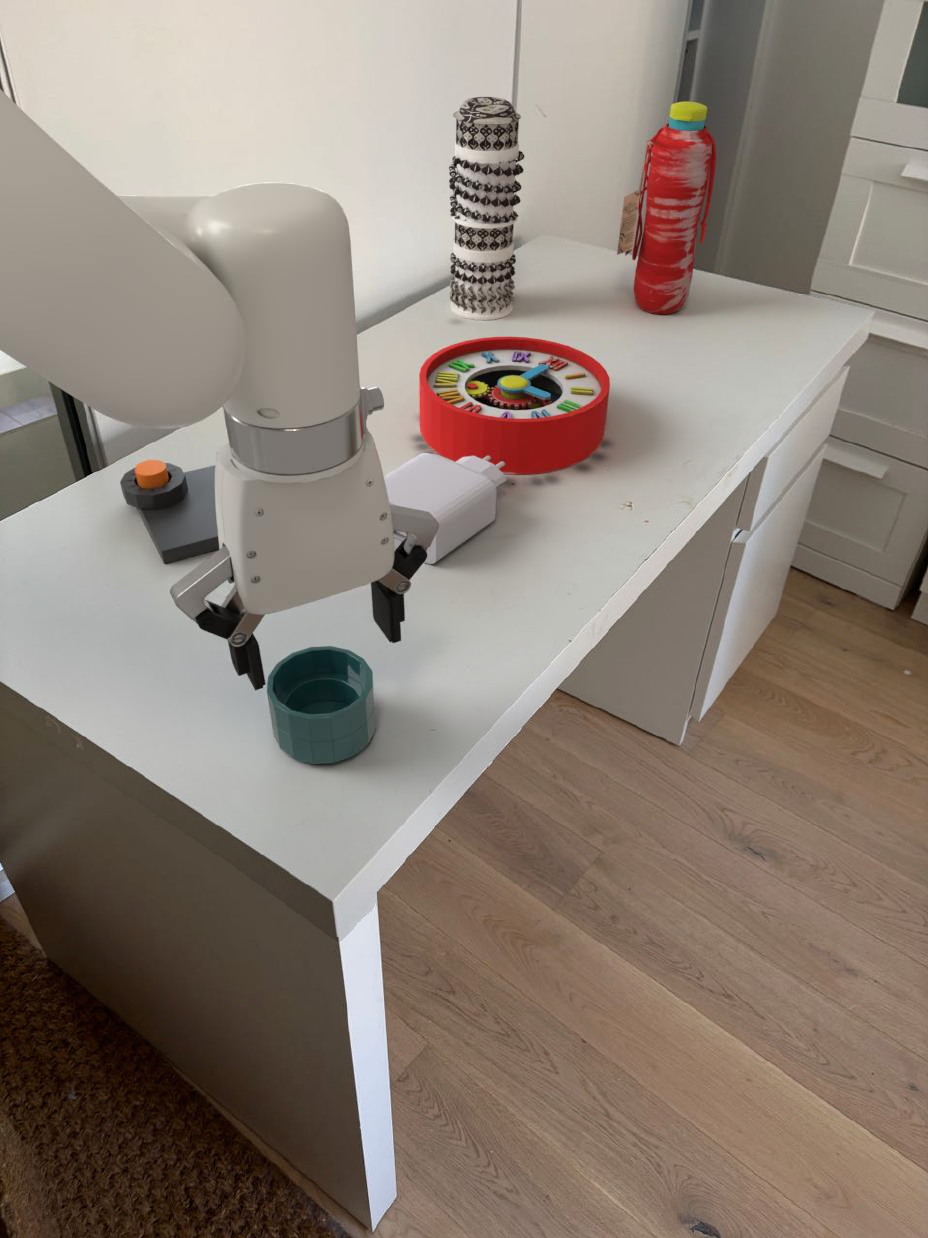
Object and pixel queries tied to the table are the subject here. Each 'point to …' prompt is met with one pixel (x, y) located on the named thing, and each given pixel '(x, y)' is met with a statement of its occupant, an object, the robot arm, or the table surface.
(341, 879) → the table surface
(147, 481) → the button
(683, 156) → the water bottle
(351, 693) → the bowl
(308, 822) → the table surface
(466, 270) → the decorative candle
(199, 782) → the table surface
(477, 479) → the charger
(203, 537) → the dark grey flat slab
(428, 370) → the toy clock
